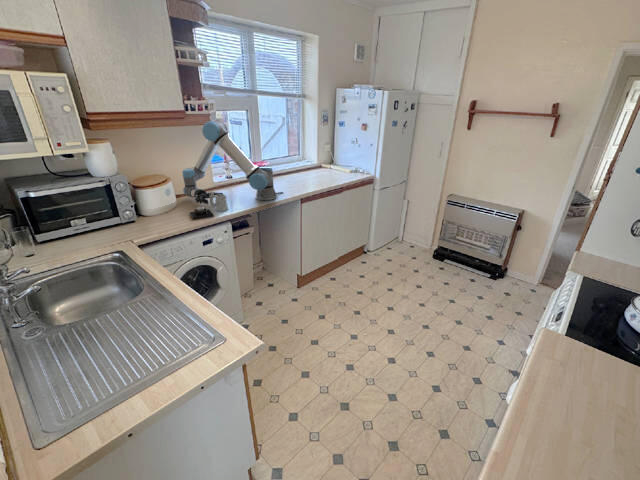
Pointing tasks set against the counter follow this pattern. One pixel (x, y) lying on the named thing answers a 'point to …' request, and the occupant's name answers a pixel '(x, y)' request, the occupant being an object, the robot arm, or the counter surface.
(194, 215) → the hob panel
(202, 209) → the hob knob
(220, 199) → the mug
